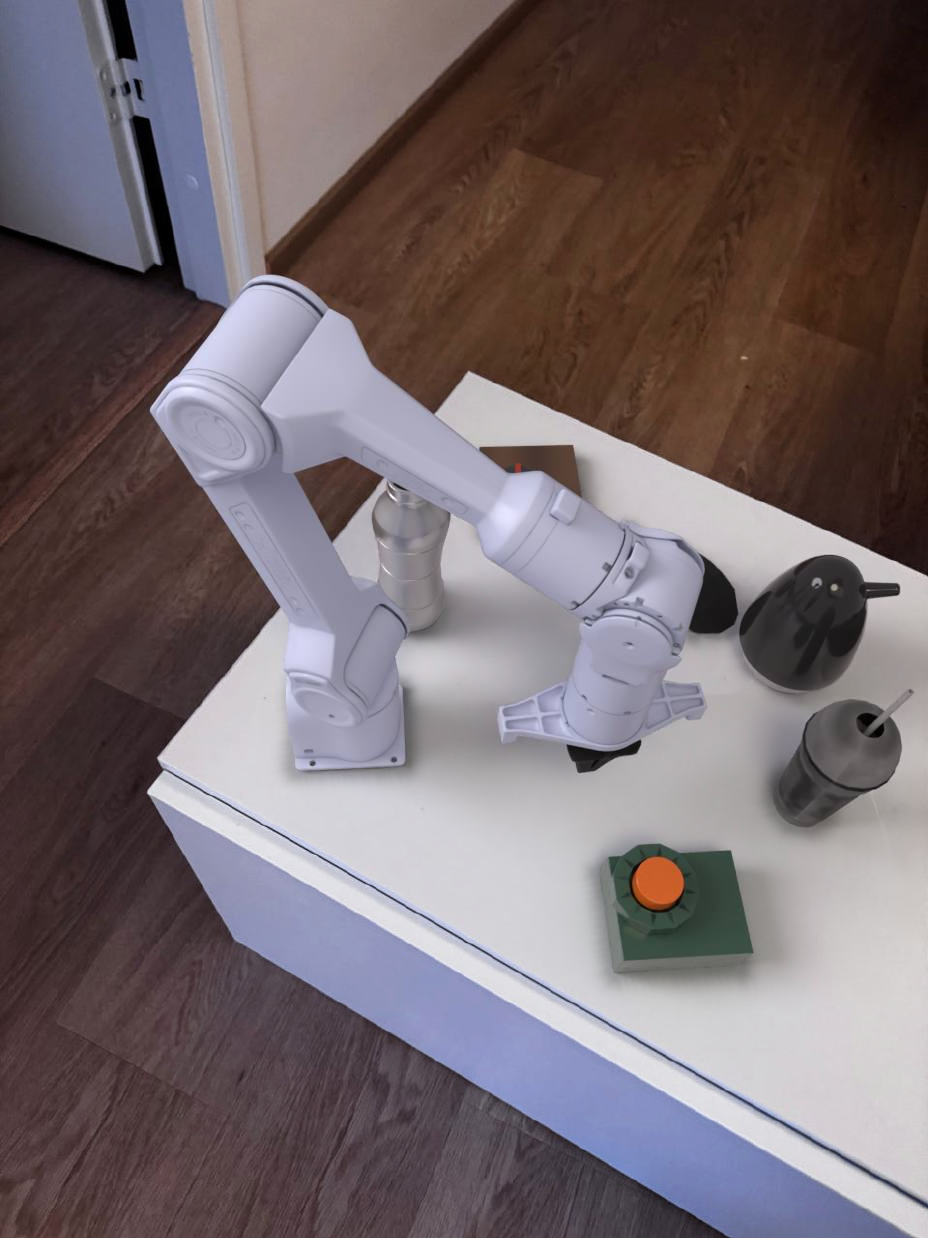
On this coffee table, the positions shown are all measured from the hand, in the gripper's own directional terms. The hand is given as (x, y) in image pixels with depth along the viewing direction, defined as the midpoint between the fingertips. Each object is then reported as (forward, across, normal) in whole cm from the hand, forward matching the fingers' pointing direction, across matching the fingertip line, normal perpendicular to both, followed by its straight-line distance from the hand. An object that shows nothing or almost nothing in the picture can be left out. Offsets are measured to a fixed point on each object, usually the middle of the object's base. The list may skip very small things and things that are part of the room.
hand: (583, 760), depth 75 cm
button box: (+10, -6, +11) cm, 15 cm away
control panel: (+10, -3, -33) cm, 34 cm away
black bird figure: (+10, -23, -11) cm, 28 cm away
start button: (+4, -4, +9) cm, 11 cm away
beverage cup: (+10, -20, +3) cm, 23 cm away
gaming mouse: (+10, -16, -22) cm, 28 cm away
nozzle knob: (+8, -1, -31) cm, 32 cm away
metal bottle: (+10, +11, -21) cm, 26 cm away
